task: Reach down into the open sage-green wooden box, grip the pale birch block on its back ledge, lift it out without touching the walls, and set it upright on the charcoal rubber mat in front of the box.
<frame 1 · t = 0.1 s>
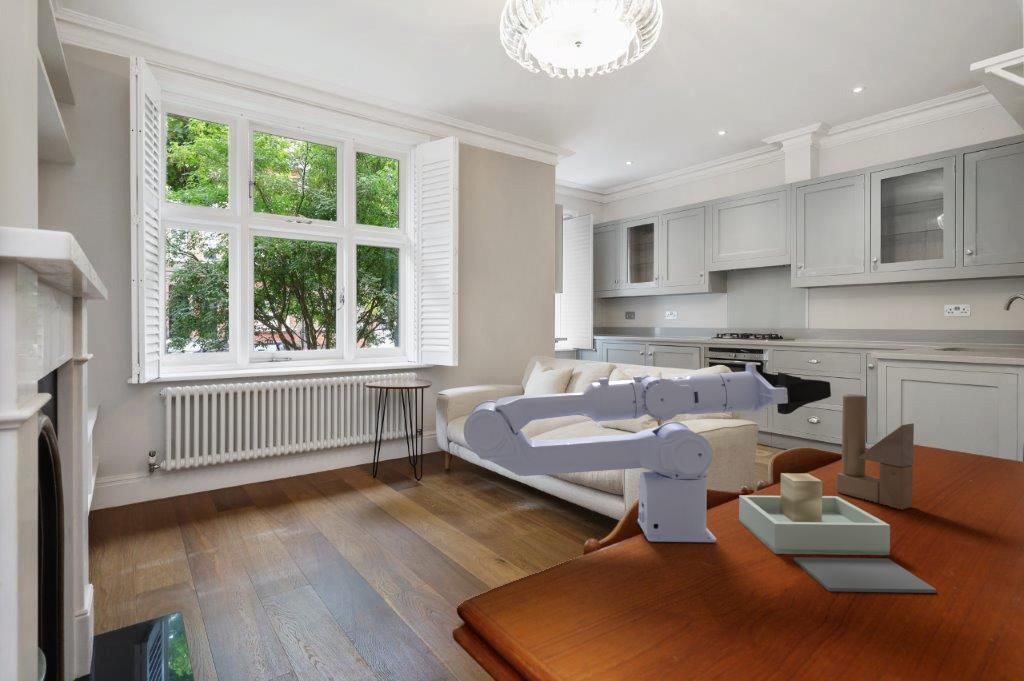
hand: (814, 386, 77), 22 cm above the table, tool horizontal, fingers open, 7 cm apart
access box: (808, 536, 76), on the table
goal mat: (860, 575, 64), on the table
birch block: (800, 517, 78), point 2 cm above the table, touching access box
wooden block: (872, 500, 93), on the table
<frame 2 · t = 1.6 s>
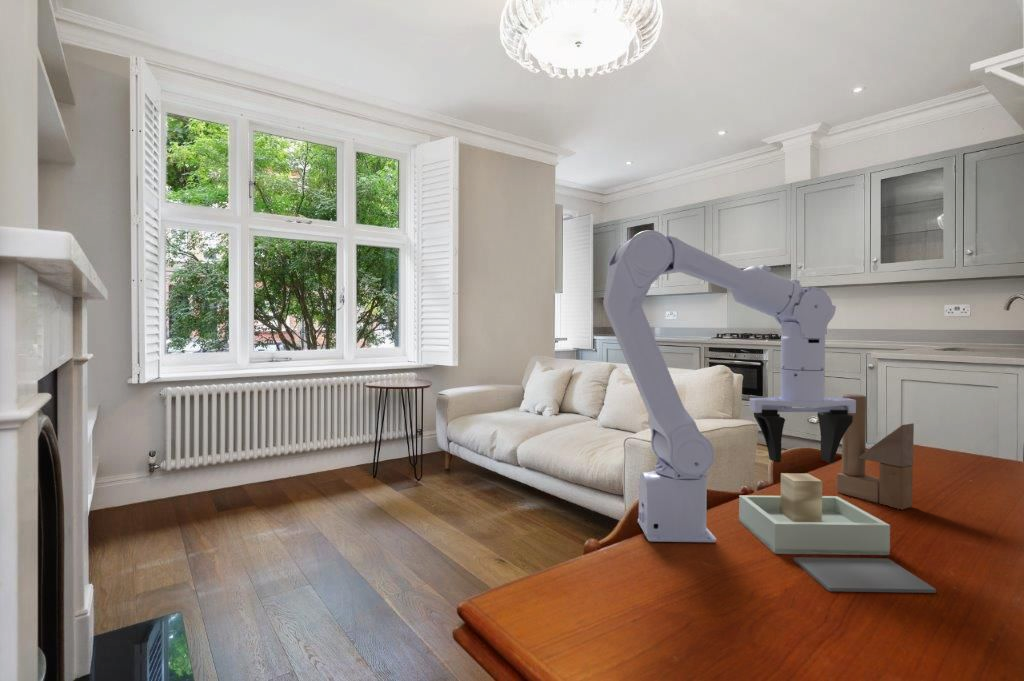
hand: (801, 461, 78), 10 cm above the table, tool pointing down, fingers open, 7 cm apart
nothing on the table moved.
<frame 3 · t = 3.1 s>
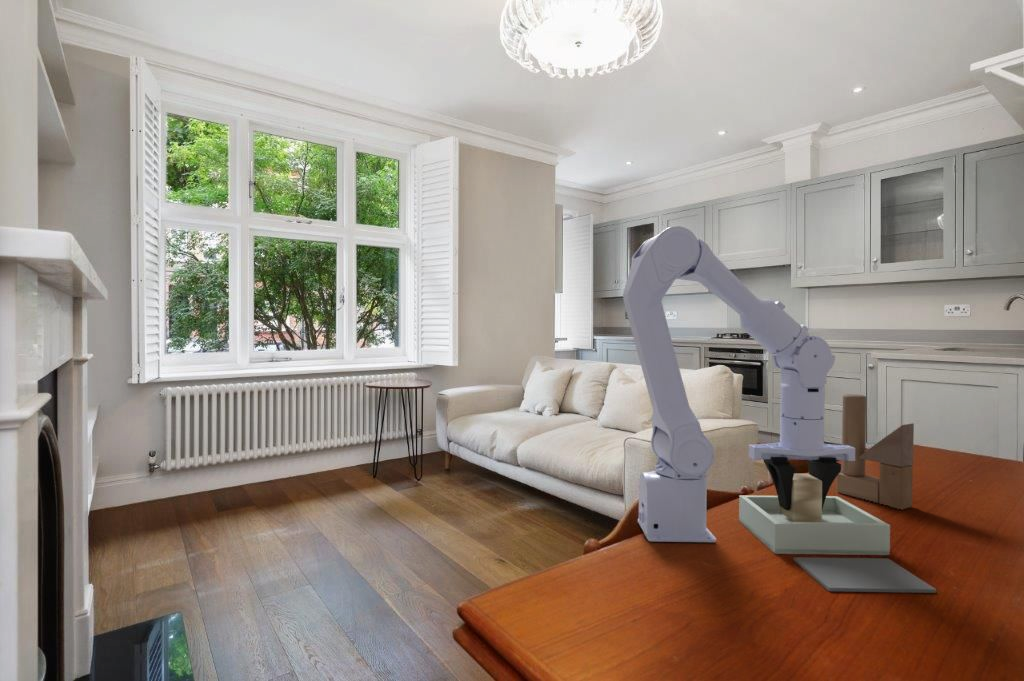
hand: (800, 507, 78), 3 cm above the table, tool pointing down, fingers closed on birch block, 4 cm apart
birch block: (800, 517, 78), point 2 cm above the table, touching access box, gripper
everything else where it was.
when the fingers open (3 cm above the table, at t = 7.3 s): birch block stays where it is, resting on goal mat.
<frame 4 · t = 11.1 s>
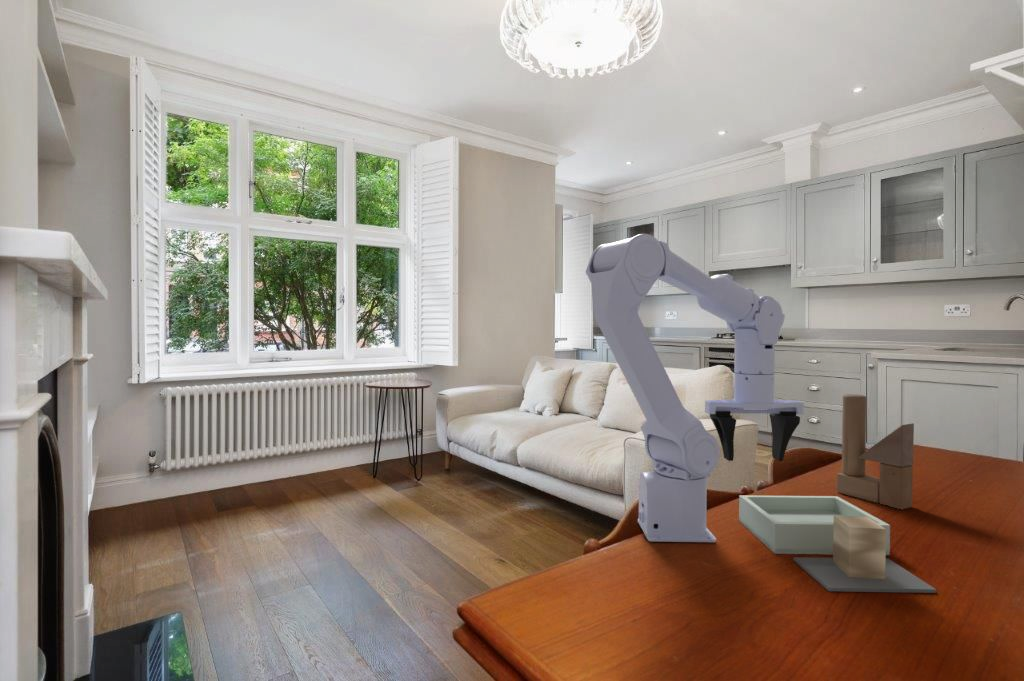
hand: (753, 459, 83), 9 cm above the table, tool pointing down, fingers open, 7 cm apart
birch block: (858, 570, 65), resting on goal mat
everything else where it was.
at the end: birch block inside the target area on the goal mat (0.5 cm from its centre), point 0.4 cm above the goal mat's base; birch block tilted 0°; birch block touching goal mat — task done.
